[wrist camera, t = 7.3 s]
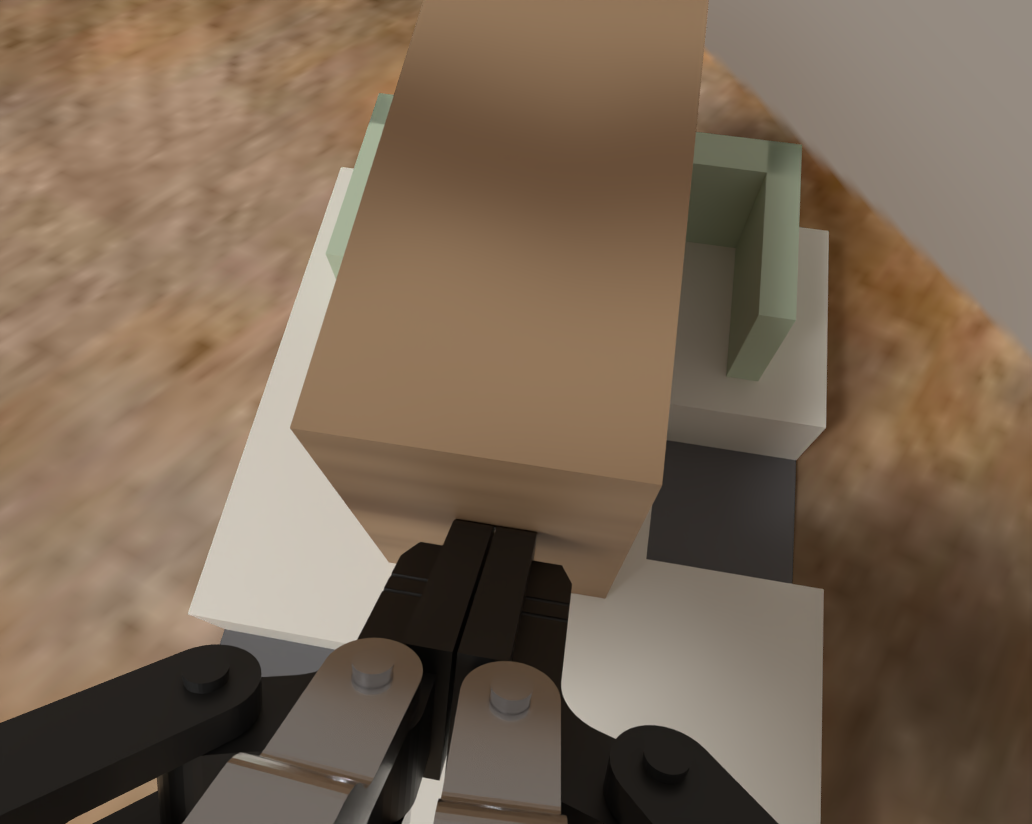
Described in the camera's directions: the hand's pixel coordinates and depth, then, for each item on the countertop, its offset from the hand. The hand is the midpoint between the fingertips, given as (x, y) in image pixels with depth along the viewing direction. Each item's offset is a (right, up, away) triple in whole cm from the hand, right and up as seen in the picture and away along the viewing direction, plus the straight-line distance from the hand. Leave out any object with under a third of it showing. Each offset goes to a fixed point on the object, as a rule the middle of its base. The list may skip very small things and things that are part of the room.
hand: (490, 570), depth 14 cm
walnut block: (+1, +3, +6) cm, 7 cm away
